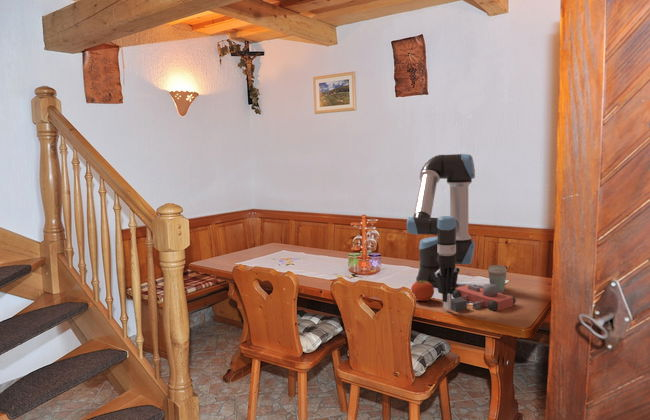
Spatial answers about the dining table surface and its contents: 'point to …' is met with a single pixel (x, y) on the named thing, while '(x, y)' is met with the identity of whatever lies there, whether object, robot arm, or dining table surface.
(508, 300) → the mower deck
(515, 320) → the dining table surface
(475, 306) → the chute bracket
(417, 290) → the tomato
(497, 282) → the coffee cup
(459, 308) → the grey cube
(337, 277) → the dining table surface
